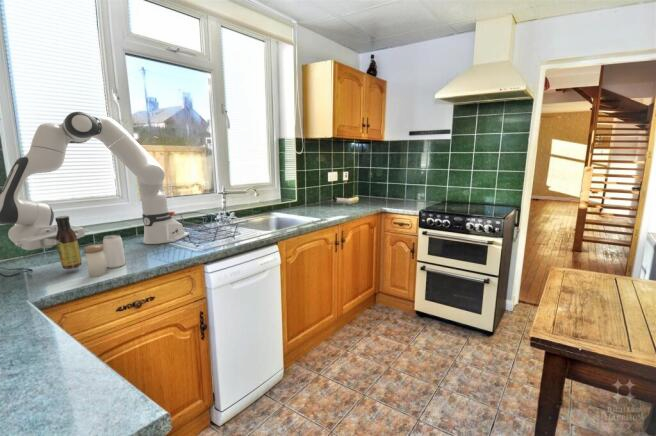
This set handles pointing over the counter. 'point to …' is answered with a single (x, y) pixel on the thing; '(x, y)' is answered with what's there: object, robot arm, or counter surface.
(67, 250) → the sauce bottle
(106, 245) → the can
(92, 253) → the spice jar
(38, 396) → the counter surface
